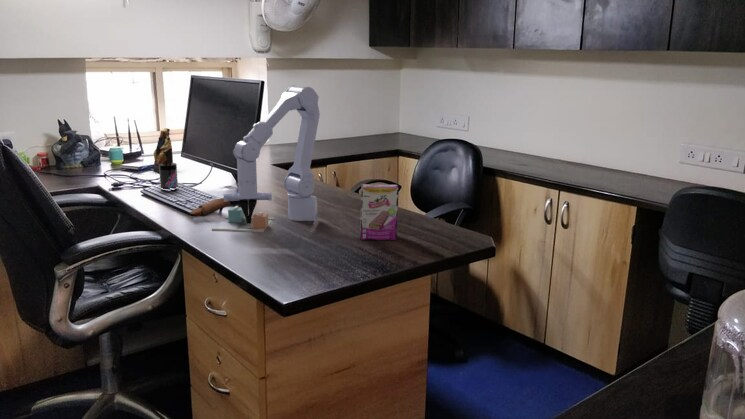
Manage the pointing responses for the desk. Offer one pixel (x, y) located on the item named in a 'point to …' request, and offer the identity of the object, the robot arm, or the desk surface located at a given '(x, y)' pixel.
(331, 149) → the desk surface
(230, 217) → the teal handled block
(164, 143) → the statue
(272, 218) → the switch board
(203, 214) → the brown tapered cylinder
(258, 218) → the orange block with handle
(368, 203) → the candy bar box
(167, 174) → the supplement container
